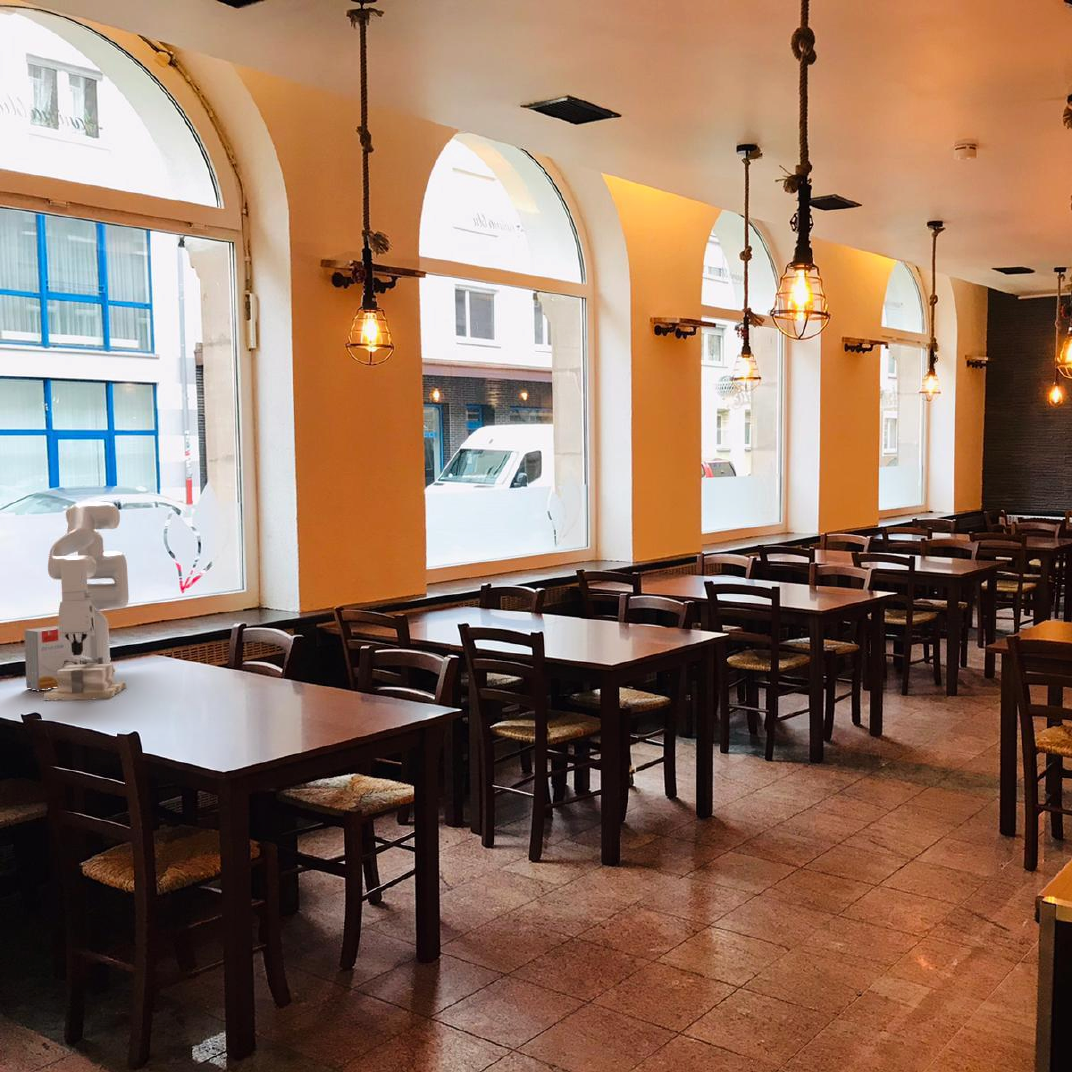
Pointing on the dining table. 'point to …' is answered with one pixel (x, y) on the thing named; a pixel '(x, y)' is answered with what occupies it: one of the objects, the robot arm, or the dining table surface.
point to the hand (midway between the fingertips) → (77, 654)
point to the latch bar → (84, 658)
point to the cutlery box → (85, 682)
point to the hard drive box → (46, 656)
